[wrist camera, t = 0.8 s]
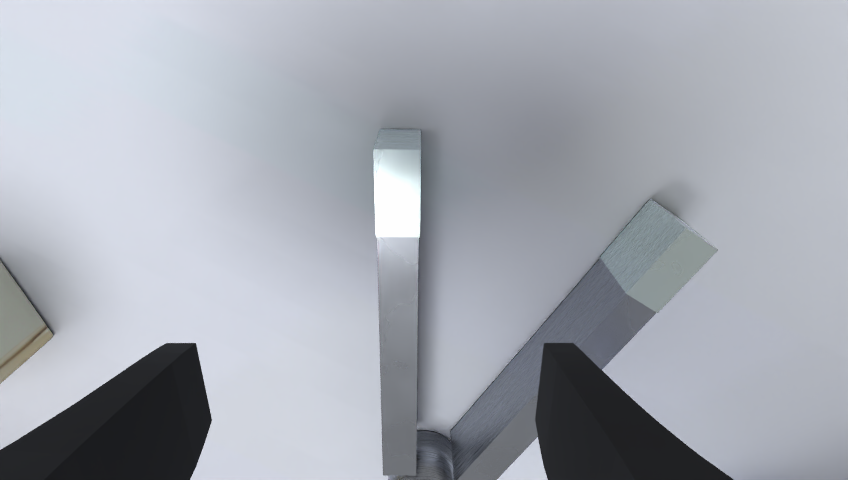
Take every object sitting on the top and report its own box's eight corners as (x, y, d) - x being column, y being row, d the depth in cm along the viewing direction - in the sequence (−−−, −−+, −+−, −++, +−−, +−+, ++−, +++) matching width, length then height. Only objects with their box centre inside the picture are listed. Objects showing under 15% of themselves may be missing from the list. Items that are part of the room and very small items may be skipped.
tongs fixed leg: (434, 489, 27) (436, 552, 24) (377, 462, 26) (371, 524, 23) (678, 217, 21) (724, 255, 18) (614, 173, 20) (650, 204, 17)
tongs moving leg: (417, 423, 25) (417, 475, 22) (386, 423, 25) (381, 475, 22) (420, 129, 19) (421, 149, 16) (380, 129, 19) (373, 149, 16)
